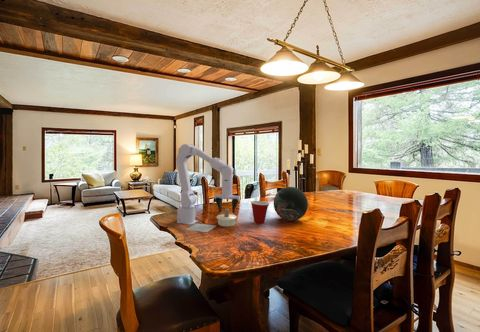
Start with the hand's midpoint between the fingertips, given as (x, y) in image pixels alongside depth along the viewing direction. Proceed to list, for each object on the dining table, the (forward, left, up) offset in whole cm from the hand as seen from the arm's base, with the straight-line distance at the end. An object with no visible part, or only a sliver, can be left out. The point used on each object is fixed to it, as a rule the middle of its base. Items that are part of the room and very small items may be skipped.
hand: (226, 212), depth 146 cm
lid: (0, 0, -3) cm, 3 cm away
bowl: (0, 0, -7) cm, 7 cm away
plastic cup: (+16, +11, -7) cm, 21 cm away
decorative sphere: (+32, +22, -7) cm, 40 cm away
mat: (-10, -11, -7) cm, 16 cm away
